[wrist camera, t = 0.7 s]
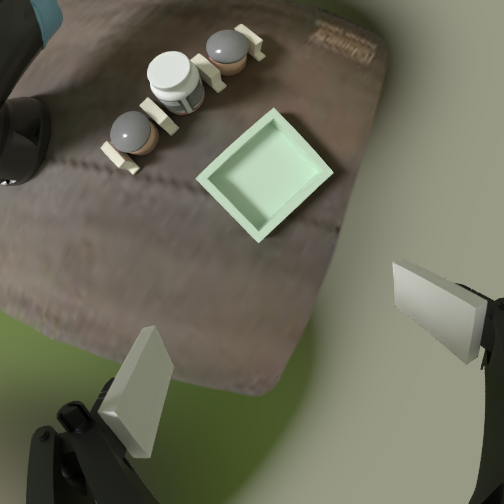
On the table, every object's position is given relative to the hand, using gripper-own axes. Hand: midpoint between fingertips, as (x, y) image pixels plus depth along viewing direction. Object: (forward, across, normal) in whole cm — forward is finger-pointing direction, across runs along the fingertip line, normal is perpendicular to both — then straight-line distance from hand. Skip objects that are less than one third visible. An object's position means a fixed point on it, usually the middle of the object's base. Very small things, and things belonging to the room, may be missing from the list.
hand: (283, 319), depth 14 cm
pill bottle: (+25, -4, +21) cm, 33 cm away
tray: (+24, +4, +8) cm, 26 cm away
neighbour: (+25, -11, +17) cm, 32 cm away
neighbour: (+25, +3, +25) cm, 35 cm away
